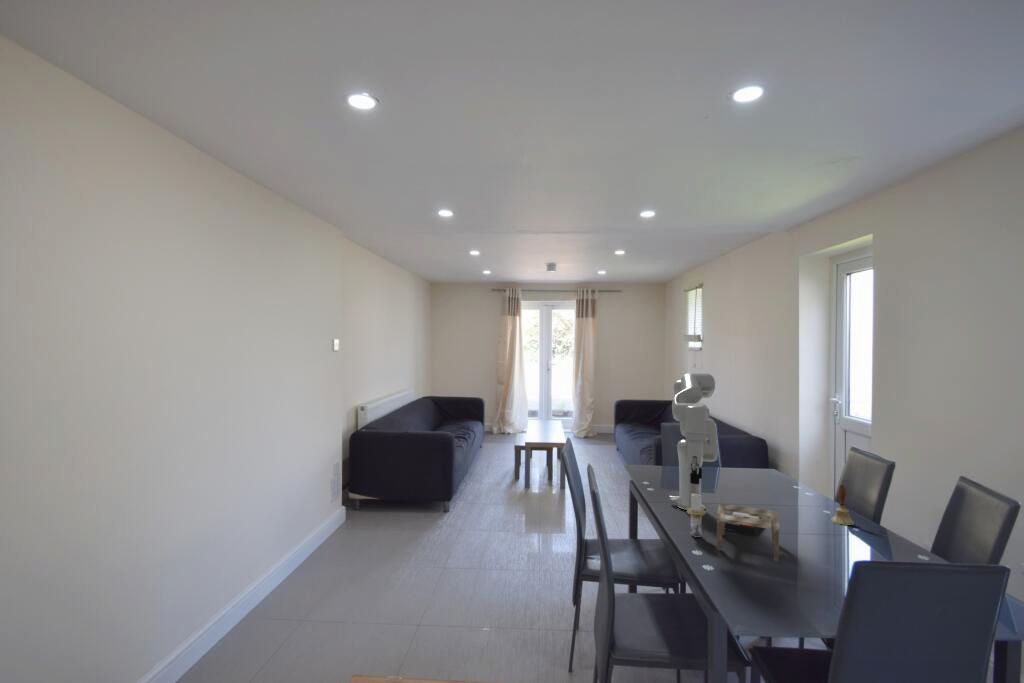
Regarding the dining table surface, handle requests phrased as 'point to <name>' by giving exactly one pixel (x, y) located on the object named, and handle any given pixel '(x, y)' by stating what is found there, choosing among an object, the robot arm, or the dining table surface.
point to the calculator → (742, 528)
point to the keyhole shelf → (749, 523)
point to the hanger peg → (696, 514)
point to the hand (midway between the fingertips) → (696, 480)
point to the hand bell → (842, 510)
